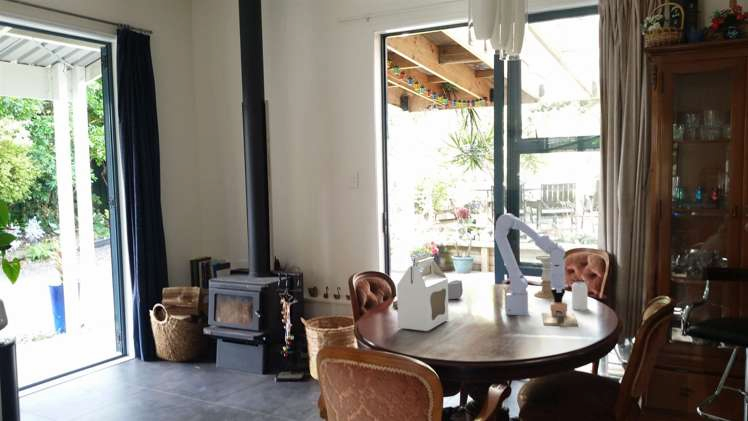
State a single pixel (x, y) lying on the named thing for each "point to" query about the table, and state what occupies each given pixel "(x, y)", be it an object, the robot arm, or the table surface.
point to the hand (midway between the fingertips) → (558, 306)
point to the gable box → (422, 296)
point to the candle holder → (545, 278)
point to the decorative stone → (455, 289)
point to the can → (579, 296)
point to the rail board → (559, 319)
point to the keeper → (558, 308)
